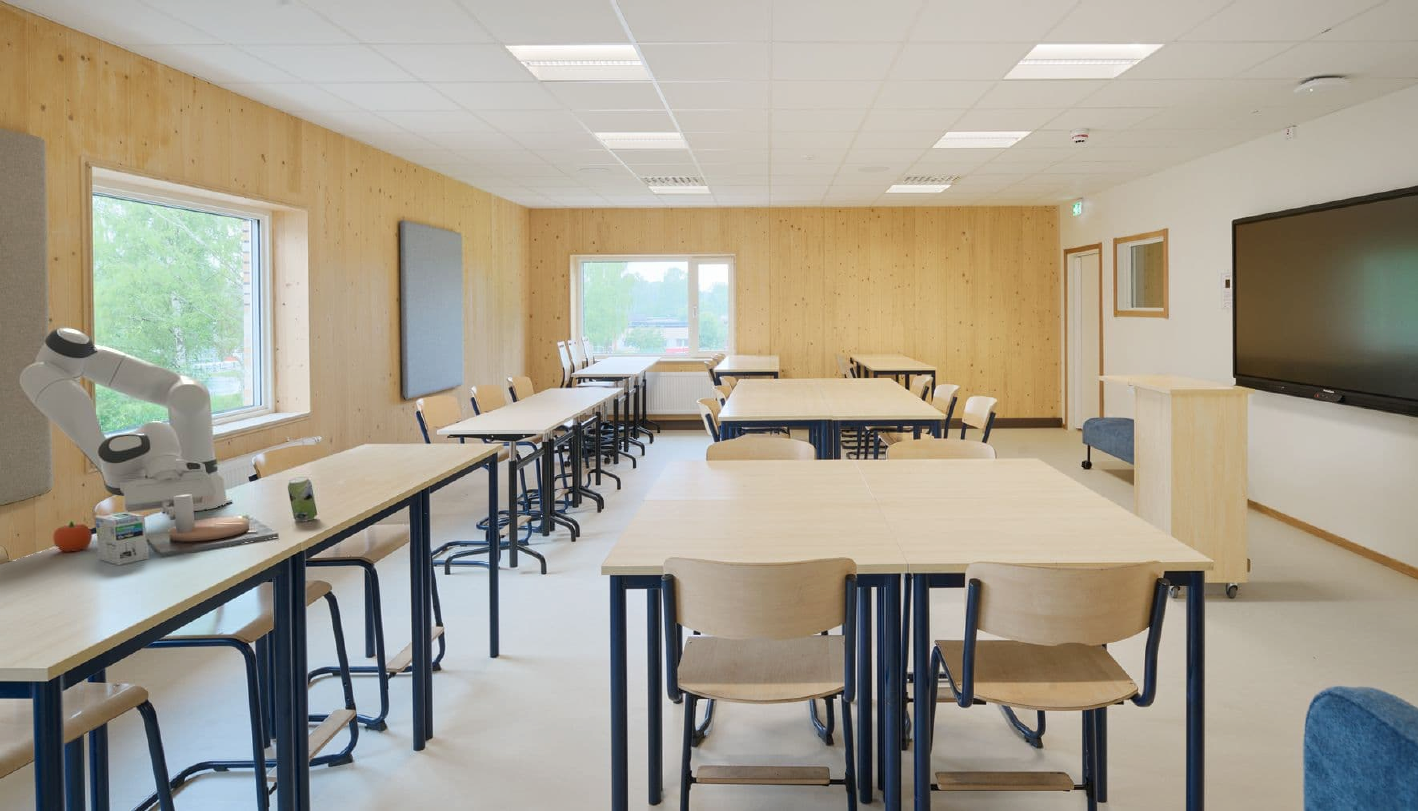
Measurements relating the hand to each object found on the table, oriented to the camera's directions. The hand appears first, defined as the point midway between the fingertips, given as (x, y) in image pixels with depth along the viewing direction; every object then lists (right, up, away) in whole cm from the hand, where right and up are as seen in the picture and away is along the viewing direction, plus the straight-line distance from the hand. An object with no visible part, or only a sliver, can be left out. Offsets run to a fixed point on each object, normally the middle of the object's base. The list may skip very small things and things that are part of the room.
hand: (175, 518), depth 226 cm
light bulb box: (-5, -8, -12) cm, 16 cm away
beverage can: (+21, -4, +25) cm, 33 cm away
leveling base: (+5, -6, +6) cm, 10 cm away
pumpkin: (-24, -8, -2) cm, 25 cm away
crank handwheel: (+5, -4, +6) cm, 9 cm away
